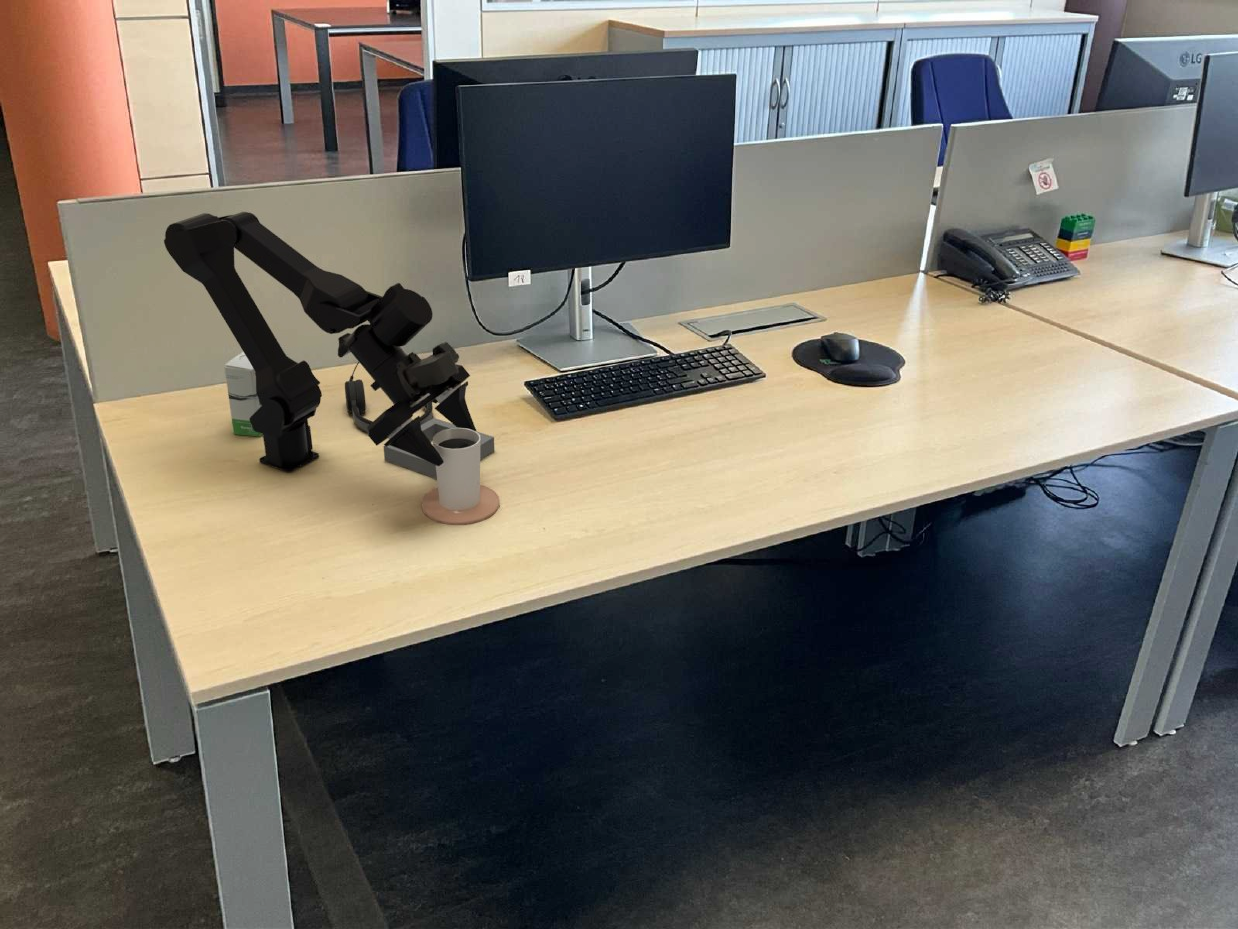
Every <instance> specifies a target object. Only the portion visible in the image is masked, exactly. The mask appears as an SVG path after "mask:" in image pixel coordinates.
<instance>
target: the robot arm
mask: <svg viewBox="0 0 1238 929" xmlns="http://www.w3.org/2000/svg"><path fill="white" fill-rule="evenodd" d="M164 233H165V234H164V239H163V243H164V247H165V250H166V251H167V253H168V254H169V255H170V257H171V258H172V259H173V260H174V262H175V263H176V265H177V266H178V267H179V269H180V270H181V271H182V272H183V273H184V274H187V275H188V276H189V277H191V278H193V279H194V280H196V281H198V282H199V283H201V284H202V285H203V287H204V289H205V290H206V292H207V294H208V295H209V297H210V299H211V300H212V301H213V303H214V305H215V307H216V309H217V310H218V312H219V314H220V315H221V317H222V318H223V320H224V321H225V323H226V325H227V327H228V328H229V330H230V332H231V333H232V334H233V337H234V339H235V340H236V341H237V343H238V345H239V347H240V348H241V350H242V352H244V353H245V355H246V357H247V358H248V360H249V362H250V363H251V365H252V367H253V368H254V370H255V372H256V394H257V396H258V398H259V401H260V403H261V405H262V406H261V407H260V408H259V409H258V410H257V411H256V412H255V413H254V414H253V415H252V416H251V417H250V418H249V420H250V422H251V425H252V427H253V429H254V431H255V432H259V433H263V435H262V438H263V446H264V452H265V453H264V455H263V456H261V457H259V459H258V460H259V463H262V464H264V465H266V466H269V467H272V468H275V469H278V470H280V471H282V472H285V473H292V472H293V471H296V470H298V469H299V468H301V467H303V466H305V465H306V464H309V463H311V462H313V461H315V460H316V459H318V458H319V457H320V453H318V452H316V451H313V441H312V439H313V438H312V432H311V431H312V430H311V426H310V425H309V421H308V419H310V418H312V417H315V416H316V411H317V409H318V407H319V406H320V405H321V401H322V400H321V398H322V396H323V395H322V390H321V388H320V386H319V385H320V384H321V381H320V380H319V379H318V378H316V376H315V374H314V373H313V371H312V369H311V366H310V364H309V363H308V362H307V361H306V360H301V361H299V362H297V361H295V360H294V359H292V358H290V357H289V356H287V354H286V353H285V351H284V349H283V348H282V347H281V344H280V343H279V341H278V339H277V338H276V336H275V335H274V333H273V331H272V329H271V327H270V326H269V323H267V321H266V318H264V316H263V314H262V312H261V311H260V309H259V307H258V306H257V304H256V302H255V300H254V298H253V297H252V296H251V294H250V292H249V290H248V289H247V287H246V285H245V284H244V282H243V280H242V278H241V277H240V275H239V273H238V271H237V270H236V267H235V250H236V251H238V252H239V253H241V254H242V255H243V256H244V257H246V258H247V259H249V260H250V261H251V262H252V263H254V264H255V266H257V267H259V268H260V269H261V270H263V271H264V272H265V273H267V274H268V275H269V276H270V277H272V278H273V279H274V280H276V281H277V282H279V284H281V285H282V286H283V287H285V288H286V289H287V290H288V291H290V292H291V293H292V294H294V296H296V298H298V300H299V302H300V304H301V307H302V310H303V312H304V313H305V314H306V315H307V316H308V318H310V319H311V320H312V321H313V322H314V324H316V325H317V326H318V328H319V329H320V330H322V331H323V332H326V333H327V334H329V335H333V334H341V333H343V332H344V331H347V329H348V330H349V329H350V330H351V329H354V328H355V329H354V331H352V332H351V333H350V332H349V333H348V332H347V333H345V334H343V335H341V336H339V337H338V338H337V339H338V340H337V341H338V348H337V356H338V357H339V358H343V357H345V356H347V355H348V354H352V355H353V356H354V358H355V359H356V360H357V362H359V364H360V365H361V366H362V367H363V369H364V370H365V371H366V372H367V373H368V374H369V376H370V377H371V378H372V379H373V382H372V383H371V384H370V387H371V389H372V390H373V391H374V392H376V391H377V390H379V389H381V390H382V392H383V393H384V394H385V395H386V396H387V398H388V399H389V400H390V401H391V403H392V404H393V405H391V406H390V407H389V408H387V409H385V410H384V411H383V412H382V413H381V414H380V415H379V416H378V417H376V418H375V419H374V420H372V421H373V422H372V423H371V424H370V425H369V426H368V427H367V431H368V433H367V436H368V437H369V439H370V440H371V441H372V442H373V444H375V446H376V447H377V446H379V445H380V444H381V443H383V442H385V441H386V440H387V439H388V440H387V441H386V442H385V443H383V446H386V447H387V446H389V445H390V446H393V447H396V448H398V449H401V450H403V451H406V452H408V453H411V454H413V455H415V456H417V457H419V458H422V459H424V460H426V461H428V462H430V463H432V464H434V465H436V466H440V465H441V464H443V463H444V461H443V459H442V458H441V456H440V454H439V453H438V451H437V450H436V449H435V447H434V446H433V442H432V441H429V439H428V438H427V437H426V435H425V434H424V433H423V431H422V430H421V424H420V417H421V416H420V415H417V417H415V418H412V417H413V416H414V415H415V413H417V412H419V411H420V410H421V409H423V408H425V407H424V406H426V405H427V404H428V403H430V402H432V404H438V405H436V406H435V407H434V410H435V411H437V412H438V413H440V414H441V415H442V416H443V417H444V418H445V419H446V420H447V421H448V422H449V423H452V424H454V425H455V426H456V427H457V428H466V429H471V430H473V431H476V432H478V431H477V428H476V427H475V424H474V421H473V417H472V416H471V413H470V410H469V407H468V404H467V401H466V391H467V390H466V389H467V387H468V385H469V382H468V381H466V380H467V379H469V377H471V375H470V373H469V372H468V371H467V370H466V369H465V367H464V366H463V365H461V364H457V363H458V362H459V359H460V355H459V353H457V351H456V350H455V349H454V347H453V346H451V344H450V343H448V342H447V341H445V342H441V343H439V344H437V345H435V346H434V347H433V348H432V354H431V355H429V356H427V357H425V358H420V356H418V354H417V353H415V352H413V351H412V352H410V353H409V354H407V353H406V352H405V351H404V350H403V348H402V347H405V346H406V345H408V344H409V343H410V342H411V341H412V340H413V339H414V338H415V337H416V336H417V335H418V334H419V333H420V332H421V331H423V330H424V329H425V328H426V327H427V325H429V324H430V322H432V319H433V309H432V307H431V304H430V303H429V302H428V300H427V299H426V298H425V297H424V296H421V294H419V293H418V292H416V291H415V290H412V289H407V288H405V287H404V286H403V284H401V283H400V282H397V283H395V284H393V285H391V286H389V287H388V288H387V289H386V291H385V292H384V294H383V295H382V296H381V295H379V294H376V293H373V292H370V291H368V290H366V289H365V288H363V286H362V285H360V284H358V283H357V282H355V281H353V280H351V279H350V278H348V277H346V276H344V275H342V274H339V273H336V272H331V271H327V270H324V269H322V268H320V267H318V266H317V265H315V264H314V263H313V262H312V261H311V260H309V259H308V258H307V257H305V256H304V255H303V254H301V253H300V252H299V251H297V250H296V249H295V248H294V247H293V246H291V245H289V243H287V242H286V241H284V239H282V238H280V237H279V236H278V235H276V234H275V233H274V232H272V231H271V230H270V229H268V228H267V227H266V226H265V225H264V224H262V223H261V222H260V220H259V218H258V217H257V216H256V215H255V214H253V213H252V212H249V211H248V212H247V211H240V212H238V213H235V214H229V215H228V214H227V215H224V216H217V215H214V214H210V213H205V212H204V213H199V214H198V215H195V216H192V217H189V218H185V219H183V220H180V221H176V222H173V223H169V225H168V226H167V228H166V230H165V232H164ZM366 322H368V323H367V324H363V323H366ZM462 383H463V384H462ZM422 396H423V397H422ZM421 397H422V398H421ZM411 402H414V403H412V404H411Z"/></svg>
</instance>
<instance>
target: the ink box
mask: <svg viewBox="0 0 1238 929" xmlns="http://www.w3.org/2000/svg"><path fill="white" fill-rule="evenodd" d="M224 374H225V380H226V387H227V395H228V400H229V409H230V417H231V423H232V429H233V430H232V431H233V434H234V435H243V436H251V437H263V433H259V432H255V431H254V429H253V427H252V425H251V422H250V420H249V418H250V417H251V416H252V415H253V414H254V413H255V412H256V411H257V410H258V409H259V408H260V407H261V406H262V405H261V403H260V401H259V398H258V396H257V394H256V372H255V370H254V368H253V367H252V365H251V363H250V362H249V360H248V358H247V357H246V355H245V353H244V352H243V351H241V353H239V354H237V355H235V357H233V358H232V359H230V360H229V361H227V362H226V363H225V365H224Z"/></svg>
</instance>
